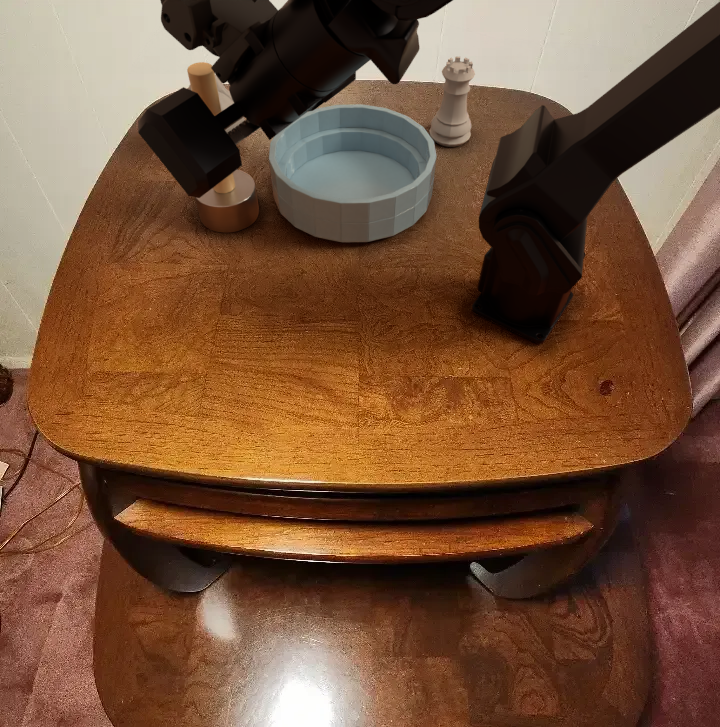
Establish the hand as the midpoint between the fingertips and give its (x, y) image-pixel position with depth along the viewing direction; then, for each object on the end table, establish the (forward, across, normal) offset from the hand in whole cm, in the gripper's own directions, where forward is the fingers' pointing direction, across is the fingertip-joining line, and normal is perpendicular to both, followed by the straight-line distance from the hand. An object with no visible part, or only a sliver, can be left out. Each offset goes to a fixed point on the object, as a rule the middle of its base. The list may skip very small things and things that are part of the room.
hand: (213, 141), depth 53 cm
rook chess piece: (-2, -23, +13) cm, 27 cm away
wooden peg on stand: (+5, 0, +6) cm, 8 cm away
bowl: (0, -9, +11) cm, 14 cm away
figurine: (+11, -7, 0) cm, 13 cm away
